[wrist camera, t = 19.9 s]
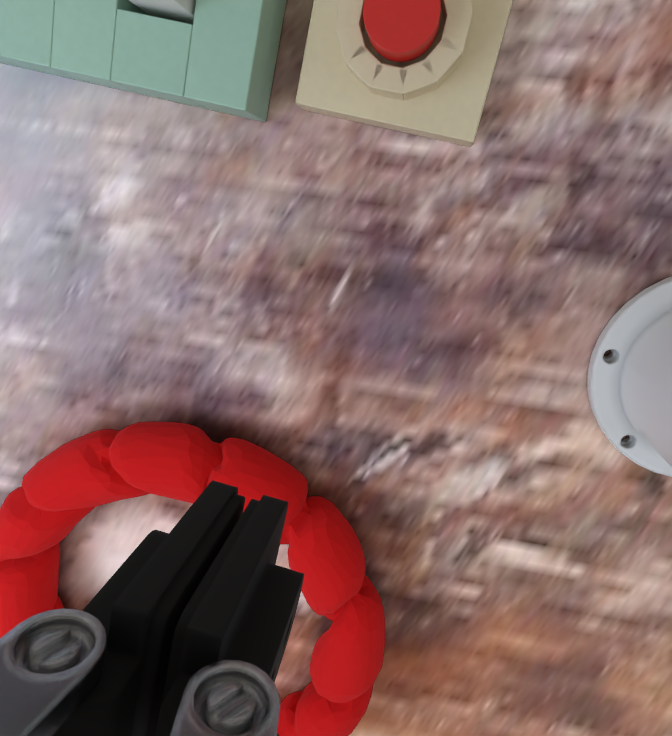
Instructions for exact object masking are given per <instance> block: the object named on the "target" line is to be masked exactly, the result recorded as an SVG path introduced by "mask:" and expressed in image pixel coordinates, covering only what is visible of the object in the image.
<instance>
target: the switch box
mask: <svg viewBox="0 0 672 736" xmlns="http://www.w3.org/2000/svg"><path fill="white" fill-rule="evenodd" d="M364 1H365V0H314V2H313V7H312V13H311V18H310V24H309V29H308V35H307V40H306V46H305V51H304V57H303V62H302V68H301V73H300V79H299V84H298V90H297V95H296V101H295V103H296V104H297V105H298V106H300V107H301V108H302V109H303V110H305V111H310V112H314V113H319V114H323V115H328V116H332V117H337V118H342V119H346V120H351V121H355V122H360V123H364V124H369V125H373V126H378V127H382V128H387V129H391V130H396V131H400V132H405V133H409V134H414V135H418V136H423V137H427V138H432V139H437V140H441V141H446V142H450V143H455V144H459V145H464V146H468V147H471V145H472V144H473V142H474V141H475V137H476V133H477V130H478V126H479V123H480V119H481V115H482V112H483V108H484V104H485V101H486V97H487V94H488V90H489V86H490V83H491V79H492V75H493V72H494V68H495V64H496V61H497V57H498V54H499V50H500V46H501V43H502V39H503V35H504V32H505V28H506V25H507V21H508V17H509V14H510V10H511V6H512V3H513V0H441V12H440V24H439V29H438V33H437V35H436V38H435V40H434V41H433V43H432V45H431V46H430V47H429V48H428V50H427V51H426V52H424V53H423V54H422V55H421V56H419V57H417V58H415V59H413V60H410V61H406V62H395V61H391V60H388V59H386V58H384V57H383V56H381V55H380V54H379V53H378V52H377V51H376V50H375V49H374V47H373V46H372V44H371V42H370V40H369V37H368V34H367V31H366V28H365V24H364V19H363V6H364Z"/></svg>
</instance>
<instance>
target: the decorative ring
mask: <svg viewBox="0 0 672 736" xmlns="http://www.w3.org/2000/svg"><path fill="white" fill-rule="evenodd" d="M211 481H217V482H221V483H224V484H228V485H231V486H235V487H238V495H241V496H244V497H245V504H244V510H245V509H246V507H247V505H248V504H249V502H250V501H251V499H255V500H259V501H260V499H261V498H262V496H263V495H266V496H270V497H273V498H277V499H280V500H284V501H287V502H288V510H287V514H286V519H285V523H284V528H283V532H282V537H281V541H280V544H289V548H288V560H289V566H290V569H291V570H293V571H297V572H300V573H304V580H303V585H302V589H301V591H302V593H303V595H304V597H305V599H306V601H307V603H308V604H309V606H310V607H311V608H312V610H313V611H314V612H316V613H317V614H318V615H324V616H325V617H327V618H328V619H330V620H331V621H333V624H332V625H331V627H330V629H329V630H328V631H326V632H325V633H323V634H322V636H321V637H320V638H319V639H318V640H317V642H316V644H315V646H314V650H313V654H312V659H311V663H310V674H311V680H312V682H310V683H309V684H308V685H307V686H306V687H305V689H304V691H297V692H294V693H291V694H289V695H288V696H287V697H286V698H284V699H283V701H282V702H281V704H280V712H279V721H278V729H277V733H278V734H279V736H348V735H350V734H351V733H352V731H353V730H354V729H355V727H356V726H357V724H358V723H359V721H360V720H361V718H362V717H363V715H364V713H365V712H366V709H367V706H368V704H369V701H370V698H371V694H372V688H373V683H374V681H375V679H376V677H377V676H378V674H379V672H380V670H381V668H382V663H383V655H384V647H385V617H384V609H383V605H382V601H381V598H380V595H379V594H378V592H377V590H376V589H375V587H374V586H373V584H372V582H371V581H370V579H369V578H368V577H367V576H366V575H365V571H366V567H365V557H364V554H363V550H362V547H361V544H360V542H359V539H358V537H357V535H356V534H355V532H354V530H353V529H352V527H351V525H350V524H349V522H348V521H347V520H346V519H345V517H344V516H343V515H342V514H341V512H340V511H339V510H338V509H337V508H336V506H335V505H334V504H333V503H332V502H331V501H329V500H327V499H325V498H323V497H321V496H309V497H307V494H308V484H307V479H306V478H305V477H304V476H303V474H302V473H300V472H299V471H298V470H297V469H295V468H294V467H293V466H291V465H290V464H289V463H287V462H285V461H284V460H282V459H280V458H279V457H277V456H276V455H274V454H272V453H270V452H269V451H267V450H265V449H263V448H261V447H259V446H257V445H255V444H253V443H251V442H248V441H246V440H243V439H238V438H227V439H225V440H224V441H223V442H222V443H216V442H213V441H212V440H211V439H210V438H209V437H208V436H207V435H206V433H205V432H204V431H203V430H202V429H200V428H198V427H196V426H193V425H190V424H185V423H176V422H138V423H135V424H132V425H129V426H127V427H126V428H124V429H123V430H121V431H117V430H112V429H104V430H99V431H94V432H92V433H89V434H86V435H84V436H81V437H79V438H77V439H74V440H72V441H70V442H67V443H65V444H63V445H62V446H60V447H59V448H57V449H56V450H54V451H53V452H52V453H50V454H49V455H47V456H46V457H44V458H43V459H41V460H40V461H39V462H38V463H37V464H36V465H35V466H33V467H32V468H31V469H30V470H29V471H28V472H27V473H26V474H25V475H24V477H23V481H22V487H19V488H17V489H16V490H14V491H12V492H11V493H10V494H9V495H8V496H7V498H6V499H5V501H4V503H3V505H2V507H1V509H0V638H1V637H3V636H4V635H5V634H7V633H8V632H9V631H10V630H12V629H13V628H14V627H15V626H17V625H18V624H20V623H21V622H23V621H24V620H26V619H28V618H29V617H31V616H33V615H36V614H39V613H42V612H44V611H48V610H55V609H64V606H63V604H62V601H61V599H60V597H59V596H58V594H57V593H58V584H59V563H60V541H61V540H63V539H64V538H65V537H66V536H67V535H68V534H69V533H70V532H71V531H72V529H73V528H74V527H75V526H76V524H77V523H78V522H79V521H80V520H81V519H82V518H83V517H85V516H86V515H87V514H88V513H89V512H90V511H91V510H93V509H94V508H95V507H96V506H99V505H103V504H107V503H111V502H115V501H118V500H122V499H128V498H133V497H139V496H143V495H147V494H155V495H159V496H164V497H168V498H173V499H177V500H181V501H185V502H189V503H194V502H195V501H196V500H197V498H198V497H199V496H200V495H201V493H202V492H203V491H204V490H205V488H206V487H207V486H208V485H209V483H210V482H211ZM244 510H243V512H244Z"/></svg>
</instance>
